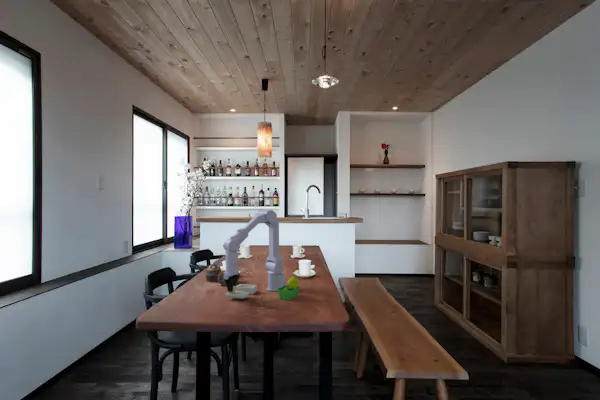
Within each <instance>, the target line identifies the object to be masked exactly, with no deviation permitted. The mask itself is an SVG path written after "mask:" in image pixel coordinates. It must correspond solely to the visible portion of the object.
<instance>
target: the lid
mask: <svg viewBox="0 0 600 400" xmlns="http://www.w3.org/2000/svg"><path fill="white" fill-rule="evenodd" d="M249 294H250V292H242V291H235V286H233V291H232V292H228V291H227V292H225V293H224V296H225V297H229V298H234V299H241V300H244V299H245V298H247V297H248V296H250V295H249Z"/></svg>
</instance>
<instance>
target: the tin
mask: <svg viewBox="0 0 600 400" xmlns="http://www.w3.org/2000/svg"><path fill="white" fill-rule="evenodd" d="M223 272H226V269H223V270H221V272H220V273H219V274H218V284H219V285H221V286H227V285H226V283H225V281H224V275H225V274H223ZM236 275H239V278H238V280H237V282H238V281H239V279H240V272H239V273H238V274H236Z"/></svg>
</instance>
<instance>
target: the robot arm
mask: <svg viewBox="0 0 600 400" xmlns="http://www.w3.org/2000/svg"><path fill="white" fill-rule="evenodd" d="M262 223H263V224H264V225H266V226H267V227H268V256H267V257H266V262H265V265H264V267H265V270H266V272H267V288H266V289H265V291H268V292H278V291H277V289H278V288H281V287H284V286H286V285H287V284H286V283H287V282H286V281H287V280H286V274H285V273H283V271H284V269H285V265H284V263H283V258H282V257H281V256H280V221H279V220H278V215H277V213H276V211H274V210H272V209H259V210H258V211H257V212H256V213H254V216H253V217H252V218H251V219H250V220H249V222H247V224H246V225H245V226H244V227H242V228H237V230H236V231H235V233H234V234H233V235H231V236H230V238H228V239H226V240H225V241H224V243H223V245H222V247H223V249H224V250H225V252H224V253H225V270H226V272H223V274H225V275H224V281H225V283H226V285H225V286H226V289H227V292H232V291H233V286H235V287H236V286H237V282H238V281H239V280H238V278H239V279H240V276H239V275H236V274H238V273H239V274H240V269H238V250H239V249H240V246H241V244H242V243H243V242H244V241H245V240H246V239H248V237H249V233H250V232H252V230H254V229H255V227H256V226H258V225H259V224H262ZM237 280H238V281H237Z"/></svg>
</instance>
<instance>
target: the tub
mask: <svg viewBox="0 0 600 400" xmlns="http://www.w3.org/2000/svg"><path fill="white" fill-rule="evenodd" d="M235 291H242V292H250V294H249V295H248V296H250V295H252V296H253V295H254V294H255V293H257V292H258V286H257V284H244V283H240V284H238V285H236V287H235Z"/></svg>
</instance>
